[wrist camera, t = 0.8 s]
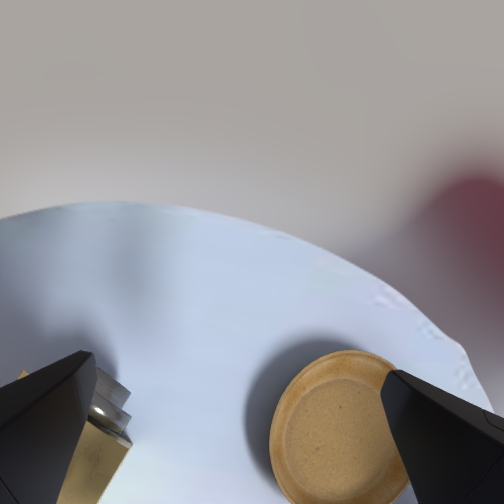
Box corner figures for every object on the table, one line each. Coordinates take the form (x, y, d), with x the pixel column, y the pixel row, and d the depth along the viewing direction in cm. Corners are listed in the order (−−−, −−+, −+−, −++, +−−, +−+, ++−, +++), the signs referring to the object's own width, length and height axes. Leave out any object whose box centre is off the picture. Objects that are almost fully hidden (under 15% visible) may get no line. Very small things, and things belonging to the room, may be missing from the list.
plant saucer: (315, 549, 16) (332, 557, 14) (221, 412, 21) (230, 409, 19) (424, 447, 24) (443, 444, 22) (356, 330, 29) (372, 320, 27)
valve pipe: (74, 543, 12) (53, 575, 7) (-7, 483, 12) (-49, 492, 7) (153, 410, 20) (157, 402, 14) (72, 354, 20) (50, 326, 14)
